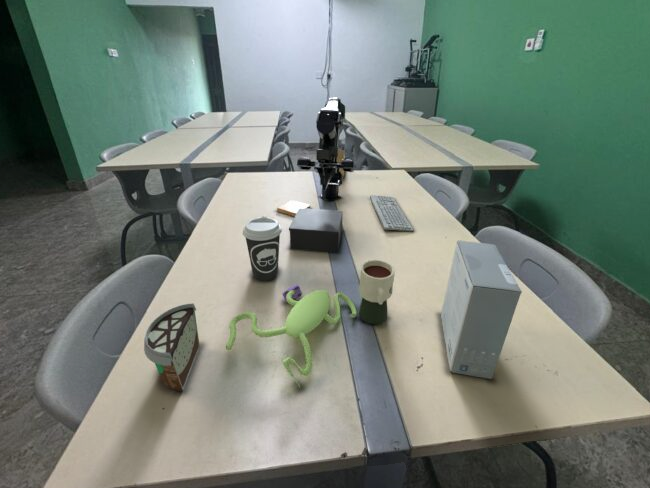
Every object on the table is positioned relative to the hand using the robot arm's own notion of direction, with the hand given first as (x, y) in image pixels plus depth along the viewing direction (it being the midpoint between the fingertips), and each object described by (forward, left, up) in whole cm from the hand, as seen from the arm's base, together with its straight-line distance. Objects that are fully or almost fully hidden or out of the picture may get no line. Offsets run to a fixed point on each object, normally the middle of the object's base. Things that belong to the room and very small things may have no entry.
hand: (324, 190), depth 105 cm
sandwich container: (-40, -40, -13) cm, 59 cm away
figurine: (+35, +35, -13) cm, 51 cm away
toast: (+1, -17, -13) cm, 22 cm away
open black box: (+8, +7, -13) cm, 17 cm away
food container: (+57, +28, -13) cm, 65 cm away
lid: (+8, +7, -6) cm, 12 cm away
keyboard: (-26, +7, -13) cm, 31 cm away
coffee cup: (+30, +13, -13) cm, 35 cm away
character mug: (+19, +42, -13) cm, 48 cm away
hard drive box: (+10, +59, -13) cm, 61 cm away
